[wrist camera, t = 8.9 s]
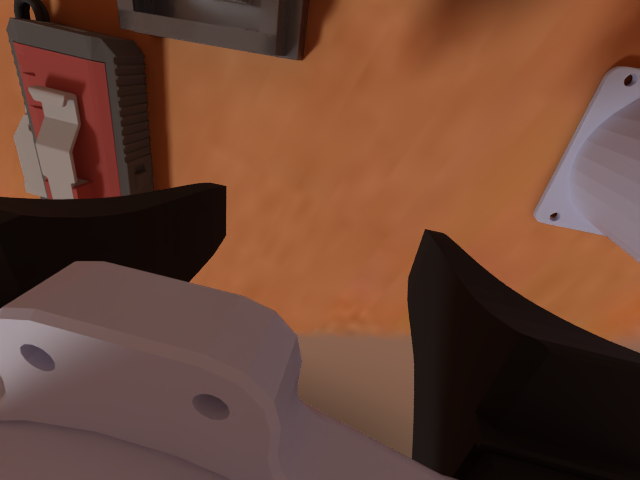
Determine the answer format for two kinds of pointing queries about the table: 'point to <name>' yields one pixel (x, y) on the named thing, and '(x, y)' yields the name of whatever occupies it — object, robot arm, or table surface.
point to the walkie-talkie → (79, 109)
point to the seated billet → (241, 1)
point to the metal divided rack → (223, 23)
